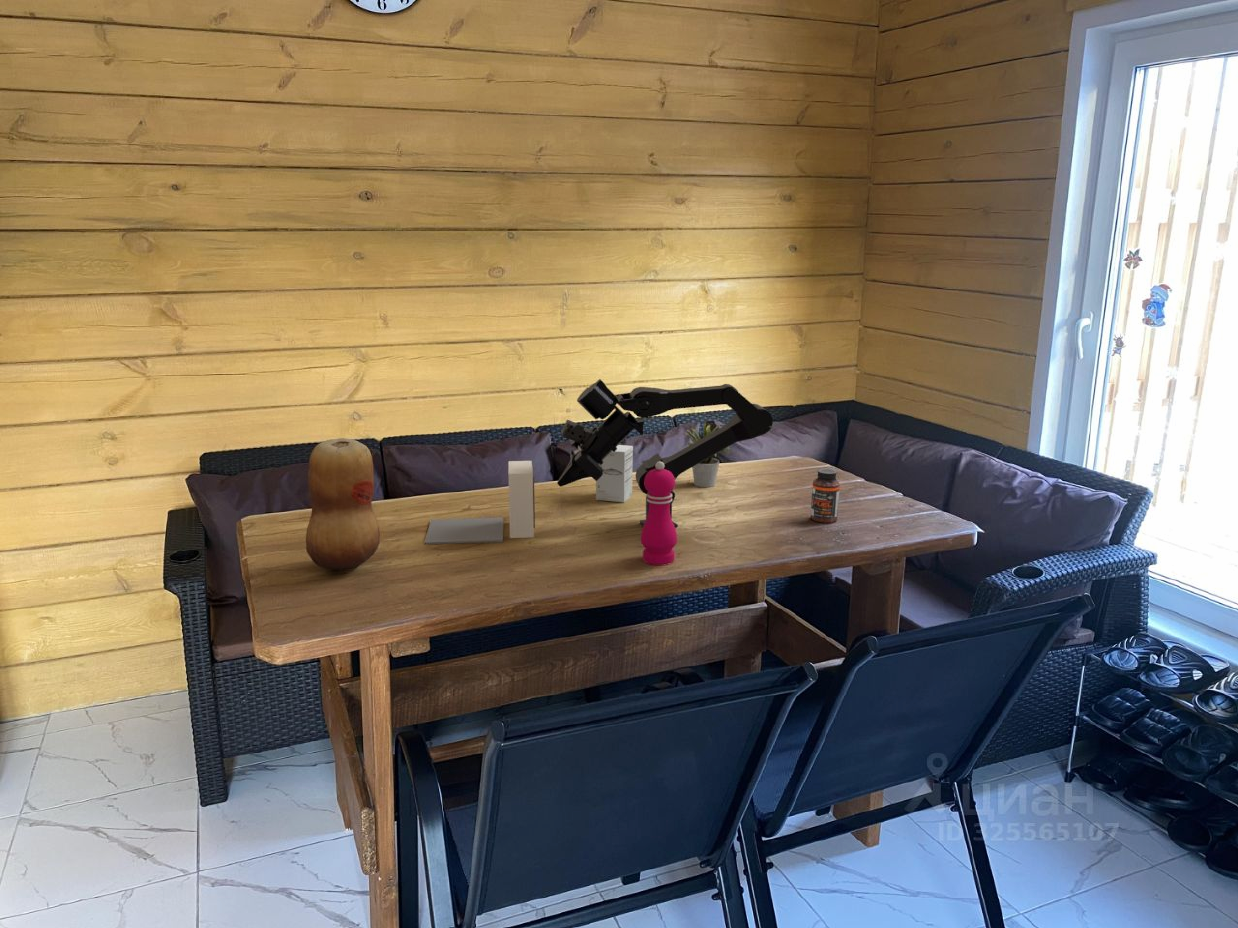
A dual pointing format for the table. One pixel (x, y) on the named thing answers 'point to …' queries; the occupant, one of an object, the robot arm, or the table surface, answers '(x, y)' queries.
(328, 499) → the butternut squash
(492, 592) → the table surface
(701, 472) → the house plant
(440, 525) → the mat
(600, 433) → the robot arm
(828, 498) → the supplement bottle
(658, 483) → the pepper mill
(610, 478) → the supplement box
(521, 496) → the picture frame
